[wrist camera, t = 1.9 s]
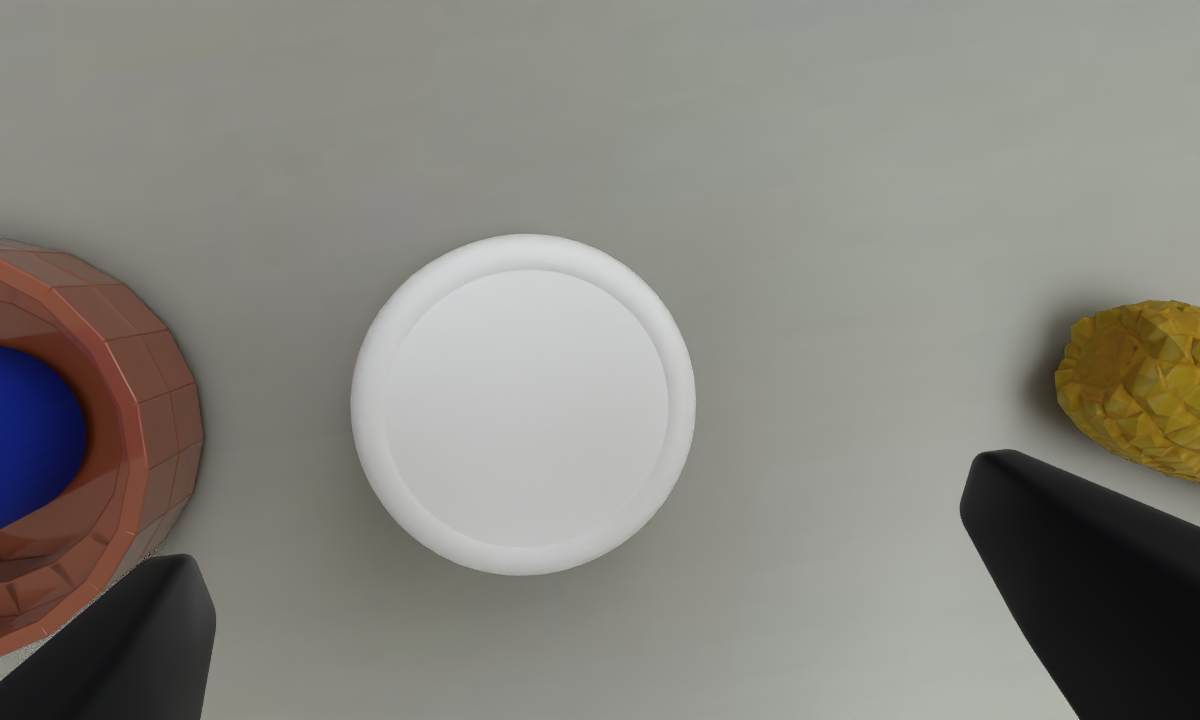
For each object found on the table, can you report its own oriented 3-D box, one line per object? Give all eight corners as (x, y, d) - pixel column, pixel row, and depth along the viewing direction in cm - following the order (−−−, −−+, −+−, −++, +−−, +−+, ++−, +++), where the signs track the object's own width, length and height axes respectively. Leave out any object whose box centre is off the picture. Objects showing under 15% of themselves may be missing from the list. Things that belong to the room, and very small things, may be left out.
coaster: (308, 323, 23) (276, 332, 19) (593, 187, 23) (612, 172, 20) (457, 590, 24) (452, 642, 21) (717, 454, 25) (754, 483, 22)
